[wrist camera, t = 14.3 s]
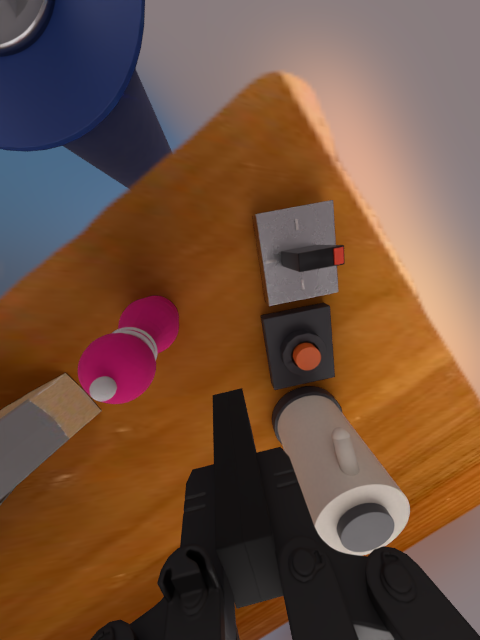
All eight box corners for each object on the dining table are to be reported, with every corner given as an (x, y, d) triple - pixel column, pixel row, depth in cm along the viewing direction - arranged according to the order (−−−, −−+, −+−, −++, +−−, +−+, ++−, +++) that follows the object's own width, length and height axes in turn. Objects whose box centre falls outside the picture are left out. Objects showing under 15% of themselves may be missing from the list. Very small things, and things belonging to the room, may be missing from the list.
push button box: (260, 315, 38) (265, 323, 35) (323, 302, 39) (335, 308, 35) (271, 382, 42) (277, 396, 38) (329, 370, 43) (340, 382, 39)
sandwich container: (103, 411, 40) (44, 504, 26) (25, 456, 41) (-74, 569, 27) (66, 370, 38) (-23, 449, 23) (-17, 419, 38) (-152, 524, 24)
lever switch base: (252, 216, 34) (255, 214, 31) (323, 203, 35) (333, 199, 32) (264, 301, 38) (269, 306, 35) (329, 288, 38) (339, 292, 35)
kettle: (264, 377, 42) (304, 481, 24) (334, 362, 42) (425, 452, 24) (277, 455, 47) (319, 590, 29) (339, 441, 47) (418, 564, 29)
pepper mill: (121, 321, 36) (22, 408, 17) (148, 281, 35) (74, 327, 16) (164, 348, 38) (118, 452, 19) (192, 311, 37) (171, 383, 18)
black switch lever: (282, 266, 33) (300, 272, 27) (280, 251, 33) (298, 253, 26) (318, 259, 34) (345, 264, 27) (317, 244, 33) (345, 245, 26)
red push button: (291, 345, 36) (294, 350, 35) (315, 340, 37) (320, 344, 35) (293, 367, 37) (297, 372, 36) (317, 362, 38) (322, 367, 36)
